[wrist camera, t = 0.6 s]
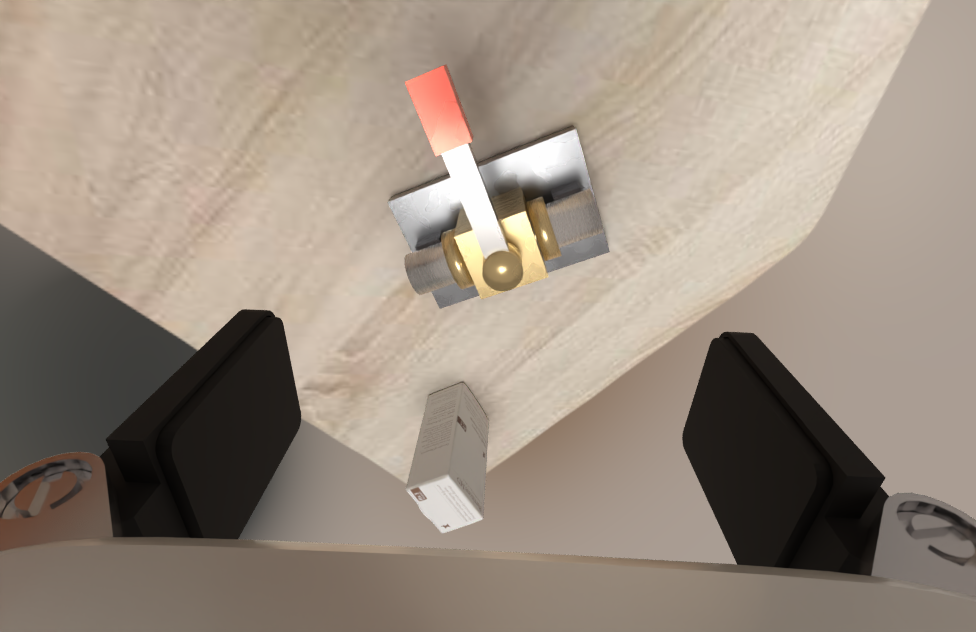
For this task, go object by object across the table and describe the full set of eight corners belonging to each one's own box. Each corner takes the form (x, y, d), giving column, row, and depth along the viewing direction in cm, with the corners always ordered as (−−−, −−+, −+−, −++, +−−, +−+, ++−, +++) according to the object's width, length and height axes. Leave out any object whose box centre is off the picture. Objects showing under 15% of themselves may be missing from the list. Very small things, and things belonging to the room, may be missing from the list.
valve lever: (526, 270, 32) (528, 283, 30) (491, 282, 33) (490, 296, 31) (449, 62, 26) (446, 64, 24) (407, 81, 26) (400, 84, 25)
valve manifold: (391, 196, 38) (369, 228, 31) (573, 125, 35) (591, 144, 28) (441, 300, 42) (431, 346, 36) (605, 245, 39) (627, 284, 33)
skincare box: (490, 420, 49) (489, 521, 39) (453, 434, 50) (442, 537, 40) (462, 378, 47) (452, 475, 36) (423, 394, 48) (403, 492, 37)
